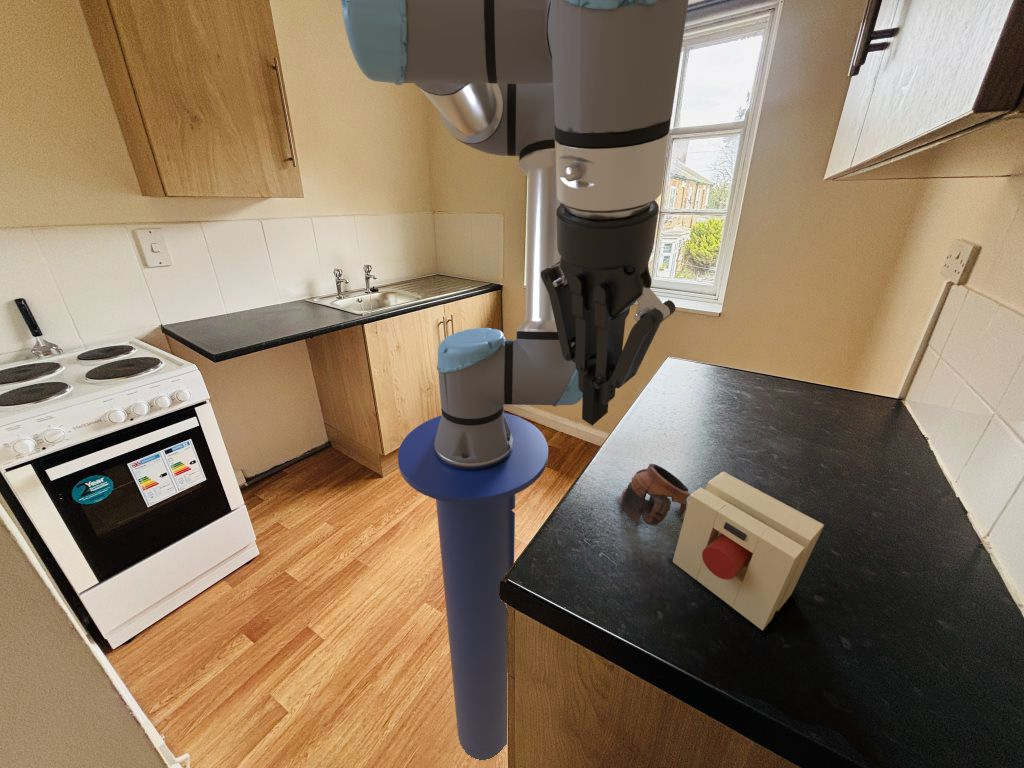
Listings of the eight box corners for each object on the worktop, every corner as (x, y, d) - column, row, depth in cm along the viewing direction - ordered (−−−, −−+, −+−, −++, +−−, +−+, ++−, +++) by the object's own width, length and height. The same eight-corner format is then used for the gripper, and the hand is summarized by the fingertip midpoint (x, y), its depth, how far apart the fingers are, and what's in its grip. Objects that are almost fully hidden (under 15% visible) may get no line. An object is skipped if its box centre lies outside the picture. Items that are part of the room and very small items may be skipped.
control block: (671, 563, 56) (688, 495, 50) (703, 535, 60) (723, 471, 55) (761, 632, 47) (794, 560, 42) (791, 594, 52) (824, 524, 46)
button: (698, 563, 50) (705, 540, 48) (715, 548, 52) (723, 525, 50) (730, 586, 47) (739, 562, 45) (747, 569, 49) (756, 545, 47)
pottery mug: (613, 489, 70) (640, 451, 68) (660, 518, 69) (689, 482, 67) (619, 525, 58) (652, 482, 56) (676, 561, 58) (711, 518, 56)
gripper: (511, 200, 32) (531, 405, 48) (654, 239, 24) (621, 468, 40) (574, 173, 35) (573, 374, 51) (717, 201, 28) (664, 427, 44)
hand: (594, 415), depth 46 cm, fingers closed
